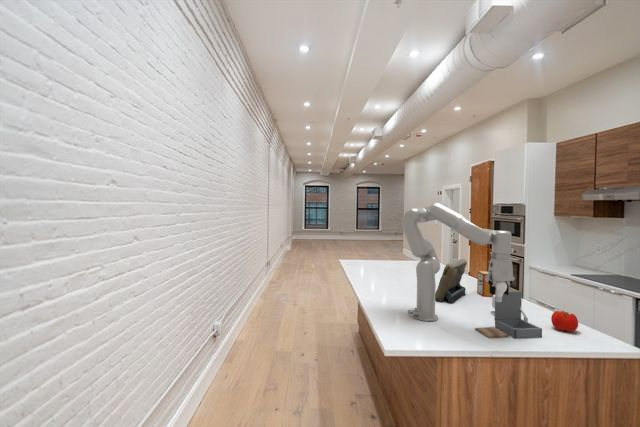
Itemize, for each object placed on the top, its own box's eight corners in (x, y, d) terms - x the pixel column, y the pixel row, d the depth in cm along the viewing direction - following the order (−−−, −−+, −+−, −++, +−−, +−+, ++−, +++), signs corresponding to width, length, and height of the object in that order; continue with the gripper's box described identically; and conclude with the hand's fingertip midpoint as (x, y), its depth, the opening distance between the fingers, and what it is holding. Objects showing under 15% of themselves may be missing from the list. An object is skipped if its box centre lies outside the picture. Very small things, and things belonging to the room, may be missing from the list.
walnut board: (488, 338, 143) (488, 336, 143) (474, 329, 153) (474, 327, 153) (508, 337, 145) (508, 335, 145) (493, 329, 154) (493, 327, 154)
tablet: (446, 290, 227) (446, 256, 227) (466, 294, 219) (467, 258, 219) (433, 301, 200) (434, 262, 200) (456, 305, 193) (457, 264, 192)
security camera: (507, 317, 172) (508, 299, 172) (494, 316, 174) (494, 298, 173) (503, 313, 178) (504, 296, 178) (490, 312, 180) (490, 295, 180)
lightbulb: (506, 305, 145) (507, 281, 144) (490, 302, 148) (491, 279, 148) (506, 302, 150) (507, 279, 150) (491, 299, 154) (492, 277, 153)
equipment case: (514, 338, 143) (515, 299, 143) (494, 327, 157) (495, 291, 157) (542, 337, 145) (543, 298, 145) (519, 326, 159) (520, 290, 159)
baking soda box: (477, 293, 222) (477, 270, 222) (486, 293, 222) (487, 270, 222) (483, 296, 213) (483, 273, 213) (492, 297, 212) (493, 273, 212)
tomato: (545, 325, 160) (546, 309, 160) (567, 326, 160) (568, 309, 160) (561, 334, 150) (561, 316, 149) (584, 334, 149) (585, 316, 149)
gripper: (490, 257, 143) (488, 296, 144) (523, 258, 146) (521, 296, 147) (479, 255, 151) (477, 292, 151) (510, 255, 154) (508, 291, 154)
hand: (498, 293), depth 149 cm, fingers closed on lightbulb, 6 cm apart
